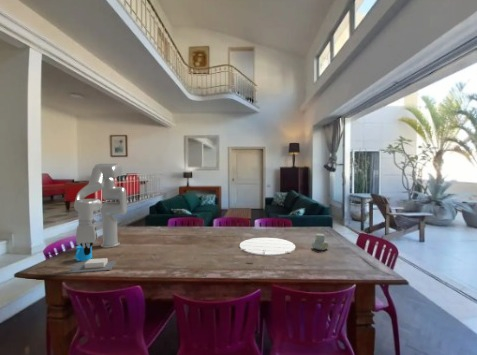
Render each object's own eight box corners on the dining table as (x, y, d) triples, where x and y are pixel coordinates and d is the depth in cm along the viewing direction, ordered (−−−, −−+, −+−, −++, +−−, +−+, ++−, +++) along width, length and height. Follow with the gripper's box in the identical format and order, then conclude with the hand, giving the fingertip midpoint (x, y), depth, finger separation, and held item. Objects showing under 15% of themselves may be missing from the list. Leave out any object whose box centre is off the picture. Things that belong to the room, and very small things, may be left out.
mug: (82, 256, 174) (82, 244, 173) (94, 256, 173) (94, 244, 172) (69, 263, 162) (68, 249, 161) (82, 263, 161) (81, 250, 160)
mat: (77, 264, 160) (77, 263, 160) (117, 261, 164) (117, 260, 164) (67, 273, 147) (66, 272, 147) (110, 270, 150) (110, 269, 150)
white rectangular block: (89, 259, 158) (107, 258, 160) (89, 264, 158) (107, 263, 160) (84, 263, 151) (103, 262, 153) (84, 268, 151) (103, 267, 153)
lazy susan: (295, 258, 168) (295, 253, 168) (234, 254, 176) (234, 249, 176) (295, 240, 207) (295, 236, 207) (244, 237, 215) (244, 233, 215)
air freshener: (319, 252, 179) (319, 237, 179) (309, 248, 186) (309, 234, 186) (330, 249, 185) (330, 234, 185) (320, 246, 192) (320, 232, 192)
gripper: (102, 220, 158) (103, 251, 159) (74, 221, 156) (76, 253, 157) (98, 223, 151) (99, 255, 152) (68, 224, 149) (70, 257, 149)
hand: (87, 254), depth 154 cm, fingers closed
